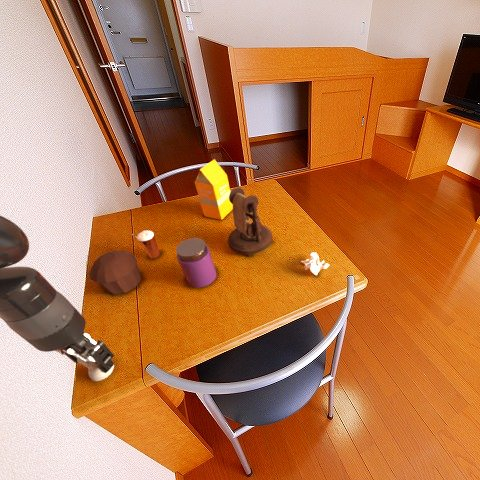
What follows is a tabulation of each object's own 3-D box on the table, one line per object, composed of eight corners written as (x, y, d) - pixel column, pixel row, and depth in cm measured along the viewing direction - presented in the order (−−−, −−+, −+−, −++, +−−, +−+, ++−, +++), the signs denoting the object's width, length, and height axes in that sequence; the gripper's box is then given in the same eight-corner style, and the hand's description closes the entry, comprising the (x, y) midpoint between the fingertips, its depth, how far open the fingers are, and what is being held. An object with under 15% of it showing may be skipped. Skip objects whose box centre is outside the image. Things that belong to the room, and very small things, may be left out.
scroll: (220, 243, 94) (206, 192, 81) (254, 224, 103) (246, 175, 90) (247, 264, 87) (237, 212, 74) (281, 241, 96) (277, 191, 83)
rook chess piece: (90, 386, 58) (69, 368, 53) (92, 367, 61) (72, 349, 56) (115, 375, 60) (96, 358, 55) (115, 358, 63) (98, 340, 58)
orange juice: (204, 216, 105) (189, 167, 92) (217, 204, 112) (205, 157, 99) (222, 220, 104) (209, 171, 91) (234, 207, 110) (224, 160, 97)
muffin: (109, 271, 83) (92, 246, 76) (149, 265, 85) (136, 241, 79) (95, 302, 74) (74, 277, 68) (140, 295, 76) (124, 270, 70)
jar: (206, 290, 78) (195, 262, 71) (180, 284, 80) (167, 255, 72) (222, 270, 85) (213, 241, 77) (198, 264, 86) (187, 236, 79)
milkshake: (144, 253, 89) (131, 228, 83) (162, 248, 91) (151, 224, 84) (144, 262, 86) (130, 237, 80) (162, 257, 88) (151, 233, 81)
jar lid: (196, 264, 72) (194, 259, 71) (171, 258, 74) (169, 253, 72) (212, 246, 78) (210, 240, 76) (189, 240, 79) (187, 235, 78)
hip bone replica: (331, 261, 83) (314, 269, 80) (329, 271, 86) (312, 280, 82) (315, 247, 88) (298, 254, 84) (314, 257, 91) (297, 264, 87)
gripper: (-10, 326, 46) (51, 371, 57) (58, 349, 43) (108, 391, 54) (36, 292, 51) (83, 339, 62) (99, 311, 49) (137, 356, 60)
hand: (95, 363), depth 58 cm, fingers open, 6 cm apart
